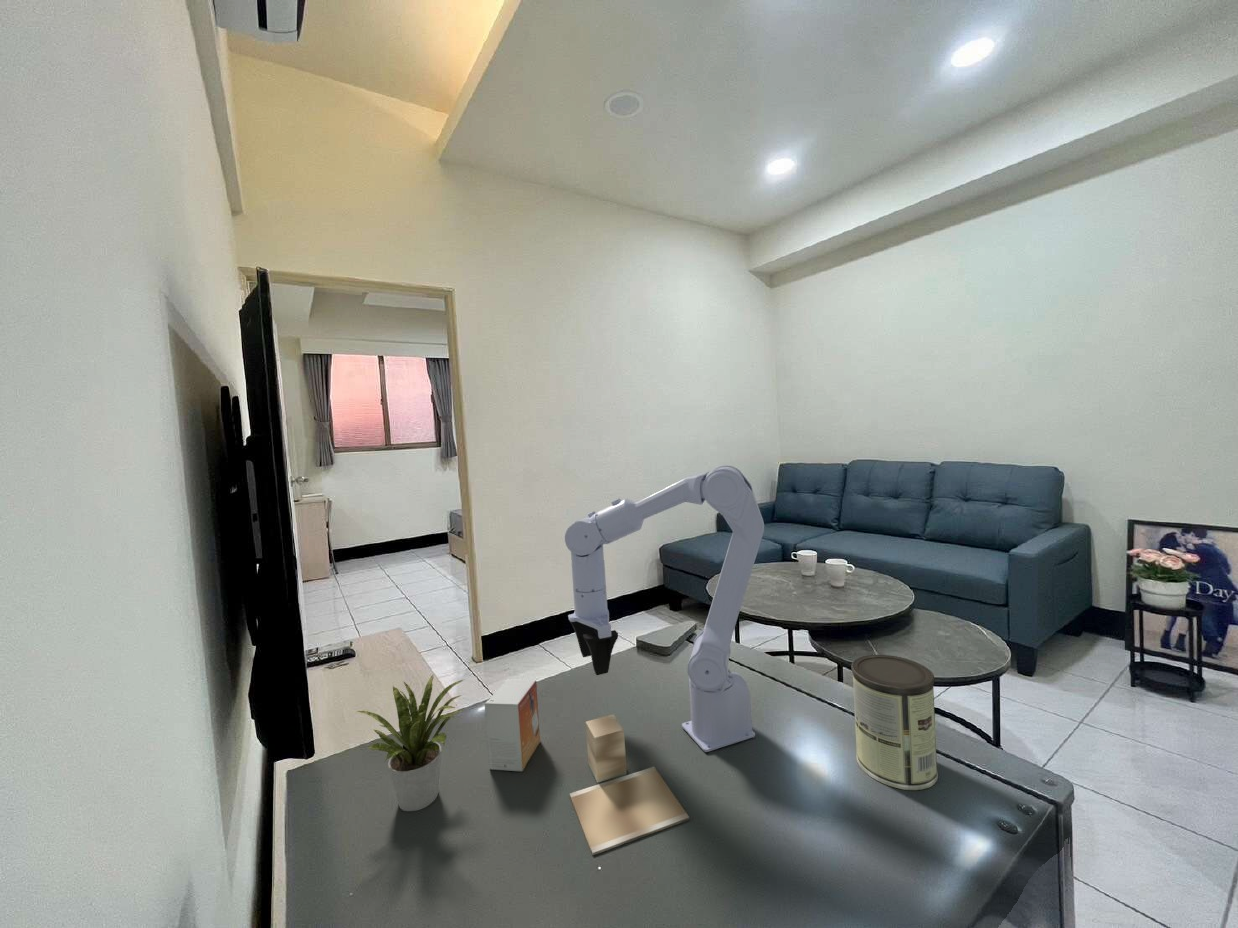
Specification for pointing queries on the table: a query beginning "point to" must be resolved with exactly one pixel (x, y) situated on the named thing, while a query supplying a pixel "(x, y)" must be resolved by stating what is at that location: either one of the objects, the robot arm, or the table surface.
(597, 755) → the beech block
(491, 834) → the table surface
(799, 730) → the table surface
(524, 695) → the small box
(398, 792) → the house plant
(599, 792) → the tan flat rectangular panel
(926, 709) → the coffee can
